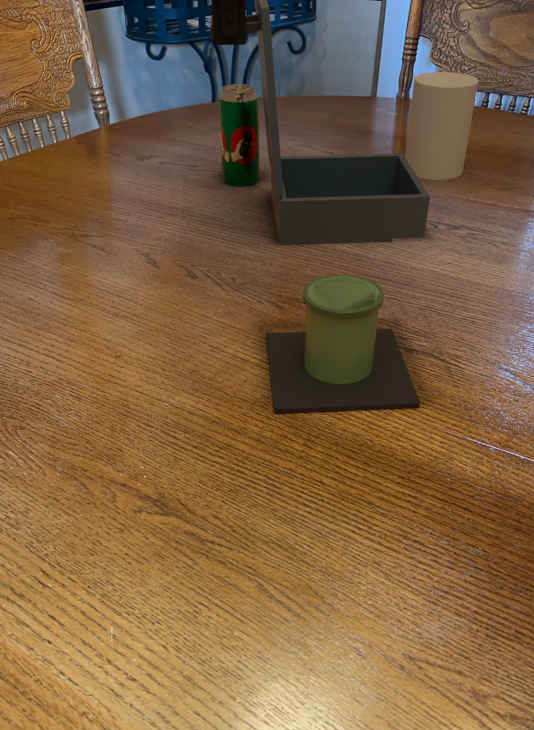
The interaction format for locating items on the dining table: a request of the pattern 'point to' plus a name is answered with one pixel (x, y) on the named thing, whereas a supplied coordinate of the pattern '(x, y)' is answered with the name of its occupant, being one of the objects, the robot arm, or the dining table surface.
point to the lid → (267, 86)
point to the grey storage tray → (349, 200)
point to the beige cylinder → (440, 124)
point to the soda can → (239, 135)
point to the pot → (341, 327)
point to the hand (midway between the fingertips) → (228, 34)
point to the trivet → (308, 394)
